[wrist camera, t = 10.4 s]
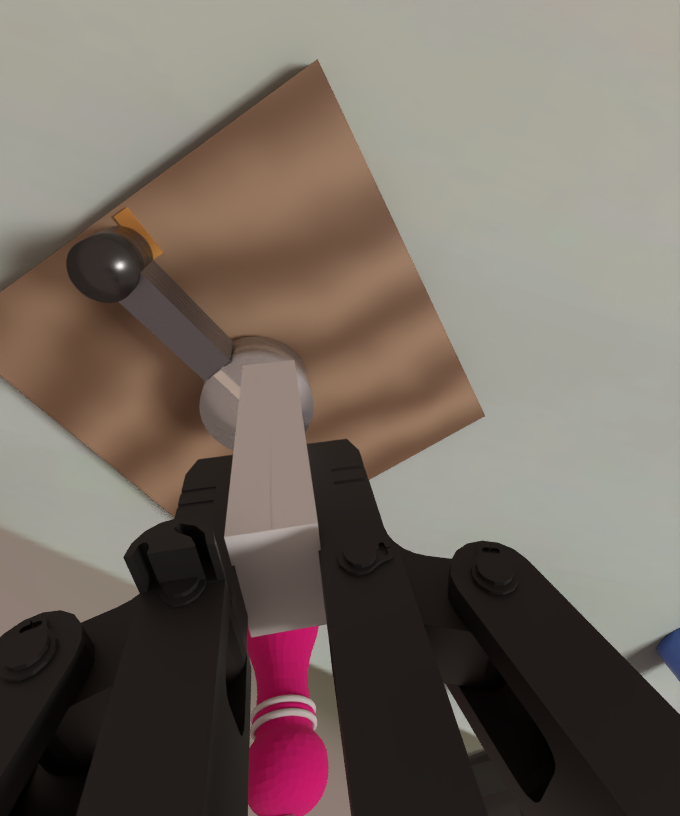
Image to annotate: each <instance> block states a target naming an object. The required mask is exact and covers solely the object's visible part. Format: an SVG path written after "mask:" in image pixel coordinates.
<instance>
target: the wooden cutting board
mask: <svg viewBox="0 0 680 816" xmlns="http://www.w3.org/2000/svg"><path fill="white" fill-rule="evenodd" d="M112 226H125V227H128V228H131V229H133V230H135V231H137V232H138V233H139V234H141V235H142V236H143V237H144V238H145V239H146V241H147V242H148V244H149V245H150V247H151V250H152V253H153V260H154V261H155V262H156V263H157V264H158V265H159V266H160V267H161V268H162V269H163V270H164V271H165V272H166V273H167V274H168V275H169V276H170V277H171V278H172V279H173V280H174V281H175V282H176V283H177V284H178V285H179V286H180V287H181V289H182V290H183V291H184V292H185V293H186V294H187V295H188V296H189V297H190V298H191V299H192V300H193V301H194V302H195V303H196V304H197V305H198V306H199V307H200V308H201V309H202V310H203V311H204V312H205V313H206V314H207V315H208V316H209V317H210V318H211V319H212V320H213V321H214V322H215V323H216V324H217V325H218V326H219V327H220V328H221V329H222V330H223V332H224V333H225V334H226V335H227V336H228V337H229V338H230V339H231V340H232V341H235V340H237V339H240V338H244V337H251V336H262V337H269V338H272V339H276V340H278V341H281V342H283V343H285V344H286V345H288V346H289V347H291V348H292V349H293V350H294V351H295V352H296V353H297V354H298V355H299V356H300V357H301V359H302V360H303V362H304V364H305V366H306V369H307V372H308V377H309V382H310V387H311V392H312V397H313V403H314V411H313V417H312V420H311V423H310V425H309V427H308V429H307V430H306V432H305V437H306V444H309V443H317V442H324V441H332V440H340V439H348V440H349V441H350V442H351V443H352V444H353V445H354V446H355V447H356V448H357V449H359V451H360V454H361V457H362V461H363V464H364V468H365V470H366V473H367V476H368V480H370V479H371V478H373V477H375V476H377V475H379V474H380V473H382V472H384V471H386V470H388V469H390V468H391V467H393V466H395V465H397V464H399V463H400V462H402V461H404V460H406V459H408V458H410V457H411V456H413V455H415V454H417V453H419V452H420V451H422V450H424V449H426V448H428V447H429V446H431V445H433V444H435V443H437V442H439V441H440V440H442V439H444V438H446V437H448V436H449V435H451V434H453V433H455V432H457V431H459V430H460V429H462V428H464V427H466V426H468V425H469V424H471V423H473V422H475V421H477V420H478V419H480V418H482V417H484V416H485V415H484V413H483V410H482V408H481V406H480V404H479V402H478V400H477V398H476V395H475V393H474V391H473V389H472V387H471V385H470V383H469V381H468V378H467V376H466V374H465V372H464V370H463V368H462V366H461V364H460V361H459V359H458V357H457V355H456V353H455V351H454V349H453V347H452V344H451V342H450V340H449V338H448V336H447V334H446V332H445V330H444V327H443V325H442V323H441V321H440V319H439V317H438V315H437V312H436V310H435V308H434V306H433V304H432V302H431V300H430V298H429V295H428V293H427V291H426V289H425V287H424V285H423V283H422V281H421V278H420V276H419V274H418V272H417V270H416V268H415V266H414V264H413V261H412V259H411V257H410V255H409V253H408V251H407V249H406V247H405V244H404V242H403V240H402V238H401V236H400V234H399V232H398V229H397V227H396V225H395V223H394V221H393V219H392V217H391V215H390V212H389V210H388V208H387V206H386V204H385V202H384V200H383V198H382V195H381V193H380V191H379V189H378V187H377V185H376V183H375V181H374V178H373V176H372V174H371V172H370V170H369V168H368V166H367V164H366V161H365V159H364V157H363V155H362V153H361V151H360V149H359V146H358V144H357V142H356V140H355V138H354V136H353V134H352V132H351V129H350V127H349V125H348V123H347V121H346V119H345V117H344V115H343V112H342V110H341V108H340V106H339V104H338V102H337V100H336V98H335V95H334V93H333V91H332V89H331V87H330V85H329V83H328V81H327V78H326V76H325V74H324V72H323V70H322V68H321V66H320V63H319V61H318V59H317V60H316V61H314V62H313V63H311V64H310V65H309V66H307V67H306V68H305V69H303V70H302V71H301V72H299V73H298V74H297V75H295V76H294V77H292V78H291V79H290V80H288V81H287V82H286V83H284V84H283V85H282V86H280V87H279V88H277V89H276V90H275V91H273V92H272V93H271V94H269V95H268V96H267V97H265V98H264V99H263V100H261V101H260V102H258V103H257V104H256V105H254V106H253V107H252V108H250V109H249V110H248V111H246V112H245V113H243V114H242V115H241V116H239V117H238V118H237V119H235V120H234V121H233V122H231V123H230V124H229V125H227V126H226V127H224V128H223V129H222V130H220V131H219V132H218V133H216V134H215V135H214V136H212V137H211V138H209V139H208V140H207V141H205V142H204V143H203V144H201V145H200V146H199V147H197V148H196V149H195V150H193V151H192V152H190V153H189V154H188V155H186V156H185V157H184V158H182V159H181V160H180V161H178V162H177V163H175V164H174V165H173V166H171V167H170V168H169V169H167V170H166V171H165V172H163V173H162V174H161V175H159V176H158V177H156V178H155V179H154V180H152V181H151V182H150V183H148V184H147V185H146V186H144V187H143V188H142V189H140V190H139V191H137V192H136V193H135V194H133V195H132V196H131V197H129V198H128V199H127V200H125V201H124V202H122V203H121V204H120V205H118V206H117V207H116V208H114V209H113V210H112V211H110V212H109V213H108V214H106V215H105V216H103V217H102V218H101V219H99V220H98V221H97V222H95V223H94V224H93V225H91V226H90V227H88V228H87V229H86V230H84V231H83V232H82V233H80V234H79V235H78V236H76V237H75V238H74V239H72V240H71V241H69V242H68V243H67V244H65V245H64V246H63V247H61V248H60V249H59V250H57V251H56V252H54V253H53V254H52V255H50V256H49V257H48V258H46V259H45V260H44V261H42V262H41V263H40V264H38V265H37V266H35V267H34V268H33V269H31V270H30V271H29V272H27V273H26V274H25V275H23V276H22V277H20V278H19V279H18V280H16V281H15V282H14V283H12V284H11V285H10V286H8V287H7V288H6V289H4V290H3V291H1V292H0V376H2V377H3V378H4V379H5V380H7V381H8V382H9V383H10V384H11V385H13V386H14V387H15V388H16V389H18V390H19V391H20V392H21V393H23V394H24V395H25V396H26V397H27V398H29V399H30V400H31V401H32V402H34V403H35V404H36V405H37V406H39V407H40V408H41V409H42V410H43V411H45V412H46V413H47V414H48V415H50V416H51V417H52V418H53V419H55V420H56V421H57V422H58V423H59V424H61V425H62V426H63V427H64V428H66V429H67V430H68V431H69V432H71V433H72V434H73V435H74V436H75V437H77V438H78V439H79V440H80V441H82V442H83V443H84V444H85V445H87V446H88V447H89V448H90V449H91V450H93V451H94V452H95V453H96V454H98V455H99V456H100V457H101V458H103V459H104V460H105V461H106V462H107V463H109V464H110V465H111V466H112V467H114V468H115V469H116V470H117V471H119V472H120V473H121V474H122V475H123V476H125V477H126V478H127V479H128V480H130V481H131V482H132V483H133V484H135V485H136V486H137V487H138V488H139V489H141V490H142V491H143V492H144V493H146V494H147V495H148V496H149V497H151V498H152V499H153V500H154V501H155V502H157V503H158V504H159V505H160V506H162V507H163V508H164V509H165V510H167V511H168V512H169V513H170V514H171V515H173V516H174V517H175V514H176V510H177V508H178V502H179V498H180V494H182V492H181V490H182V486H183V482H184V478H185V475H186V473H187V472H188V471H189V470H190V468H191V467H192V466H193V465H194V464H195V462H196V461H197V460H198V459H204V458H212V457H219V456H227V455H233V450H231V449H229V448H227V447H225V446H223V445H222V444H220V443H219V442H218V441H216V440H215V439H214V438H213V437H212V436H211V435H210V434H209V432H208V431H207V429H206V428H205V426H204V424H203V422H202V419H201V415H200V408H199V405H200V397H201V393H202V389H203V385H204V380H203V379H202V378H201V377H200V376H199V375H198V374H196V373H195V372H194V371H193V370H192V369H191V368H190V367H189V366H188V365H187V364H186V363H184V362H183V361H182V360H181V359H180V358H179V357H178V356H177V355H176V354H175V353H173V352H172V351H171V350H170V349H169V348H168V347H167V346H166V345H165V344H164V343H163V342H161V341H160V340H159V339H158V338H157V337H156V336H155V335H154V334H153V333H152V332H151V331H149V330H148V329H147V328H146V327H145V326H144V325H143V324H142V323H141V322H140V321H139V320H137V319H136V318H135V317H134V316H133V315H132V314H131V313H130V312H129V311H128V310H127V309H125V308H124V307H123V306H122V305H121V304H120V303H119V302H115V303H103V302H98V301H95V300H92V299H90V298H88V297H87V296H85V295H84V294H82V293H81V292H80V291H79V290H78V289H77V288H76V287H75V286H74V284H73V283H72V281H71V280H70V278H69V275H68V272H67V268H66V259H67V255H68V253H69V251H70V249H71V248H72V247H73V246H74V245H75V244H76V243H78V242H80V241H82V240H84V239H86V238H88V237H90V236H92V235H94V234H96V233H98V232H100V231H102V230H104V229H106V228H108V227H112Z"/></svg>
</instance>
